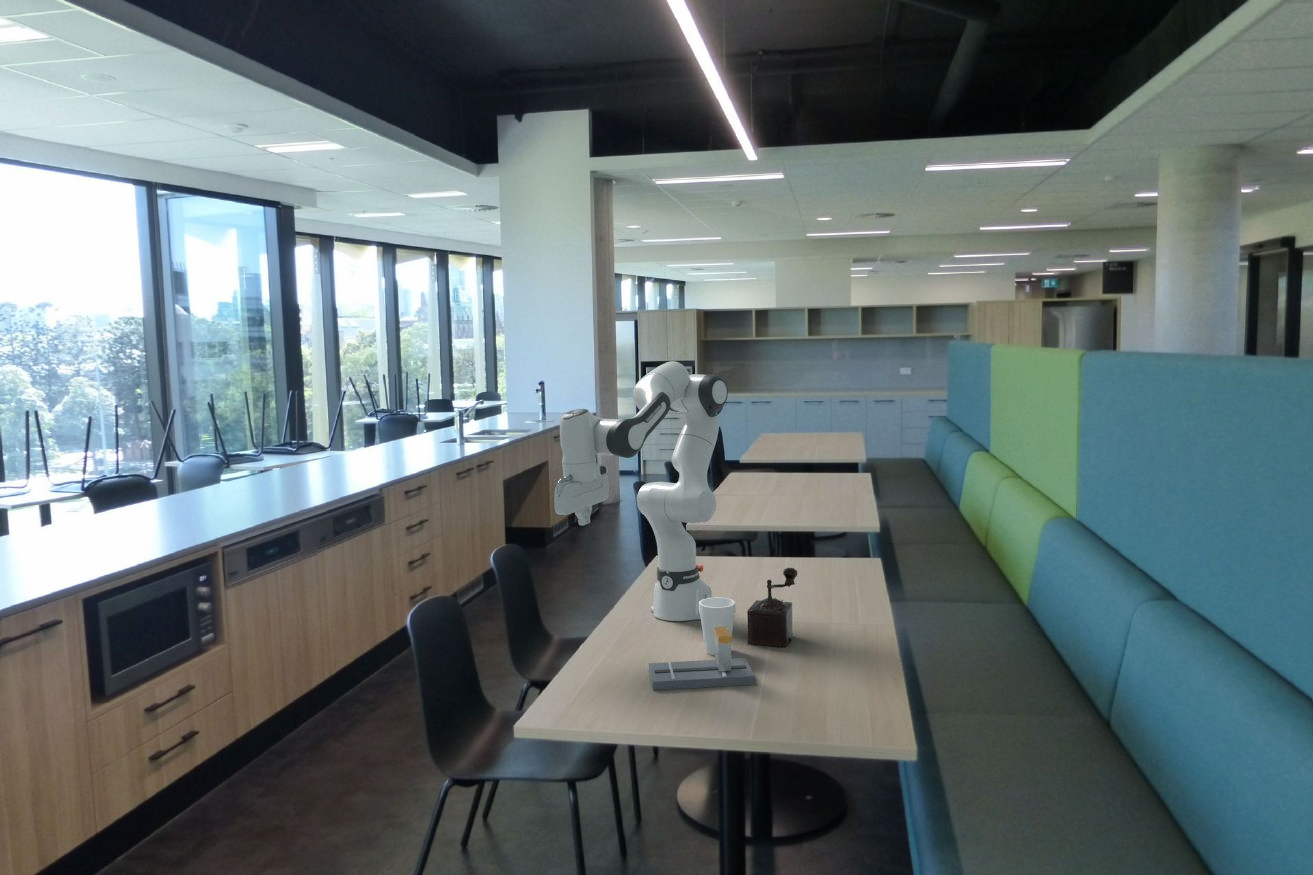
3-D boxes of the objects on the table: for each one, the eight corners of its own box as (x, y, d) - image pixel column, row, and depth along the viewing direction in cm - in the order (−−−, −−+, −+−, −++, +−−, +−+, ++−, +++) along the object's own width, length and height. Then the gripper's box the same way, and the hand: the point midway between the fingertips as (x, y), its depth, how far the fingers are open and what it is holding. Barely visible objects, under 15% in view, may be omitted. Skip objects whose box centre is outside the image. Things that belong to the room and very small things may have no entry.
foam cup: (706, 659, 228) (705, 609, 227) (694, 647, 237) (693, 599, 235) (741, 655, 230) (740, 605, 229) (729, 643, 239) (728, 595, 238)
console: (652, 689, 209) (652, 680, 209) (648, 671, 221) (648, 662, 221) (754, 684, 211) (754, 674, 211) (745, 665, 223) (745, 656, 223)
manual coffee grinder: (788, 648, 235) (787, 581, 233) (746, 644, 238) (745, 578, 236) (799, 629, 249) (799, 566, 247) (760, 626, 253) (759, 563, 251)
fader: (719, 671, 212) (718, 636, 212) (714, 661, 219) (714, 627, 218) (731, 671, 213) (731, 635, 212) (726, 660, 220) (726, 626, 219)
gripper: (566, 480, 224) (571, 534, 226) (611, 465, 241) (615, 516, 243) (546, 479, 227) (550, 532, 229) (592, 465, 245) (596, 515, 246)
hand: (584, 524), depth 236 cm, fingers closed
